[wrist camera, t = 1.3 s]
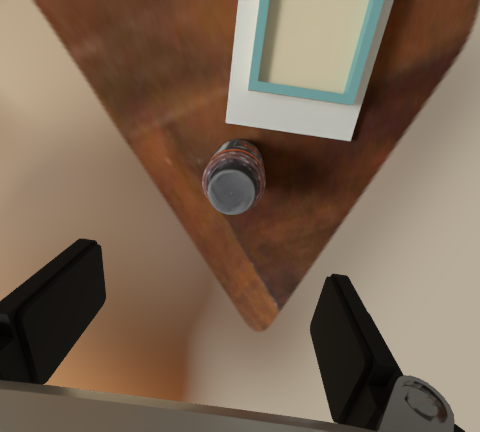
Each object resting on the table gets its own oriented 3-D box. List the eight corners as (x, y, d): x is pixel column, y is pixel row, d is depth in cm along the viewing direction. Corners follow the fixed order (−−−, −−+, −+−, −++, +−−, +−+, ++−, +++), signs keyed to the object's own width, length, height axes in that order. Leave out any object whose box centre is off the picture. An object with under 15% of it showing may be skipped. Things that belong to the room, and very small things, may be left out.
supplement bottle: (273, 157, 31) (283, 187, 21) (244, 195, 33) (240, 239, 23) (232, 127, 30) (222, 142, 19) (204, 168, 32) (182, 201, 21)
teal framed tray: (248, -85, 22) (247, -125, 18) (406, -59, 23) (439, -93, 19) (226, 121, 29) (222, 125, 25) (346, 139, 30) (361, 146, 26)
